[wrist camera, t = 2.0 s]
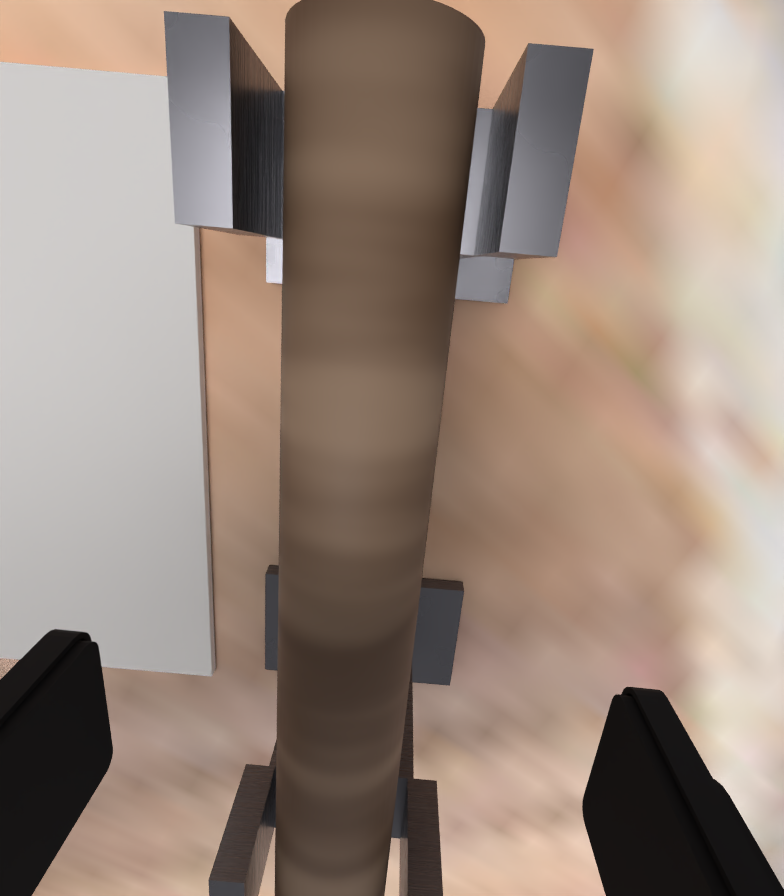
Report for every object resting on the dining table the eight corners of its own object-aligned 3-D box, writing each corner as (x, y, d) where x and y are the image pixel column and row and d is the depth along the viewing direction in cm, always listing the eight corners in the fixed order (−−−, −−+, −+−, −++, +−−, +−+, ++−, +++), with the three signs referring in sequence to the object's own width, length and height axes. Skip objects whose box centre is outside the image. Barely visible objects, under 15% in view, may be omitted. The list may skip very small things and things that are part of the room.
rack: (448, 674, 29) (481, 999, 16) (269, 658, 29) (158, 972, 16) (527, 143, 20) (733, -66, 8) (271, 120, 20) (39, -127, 7)
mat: (215, 668, 29) (211, 676, 29) (2, 649, 29) (-6, 657, 29) (193, 83, 20) (187, 78, 19) (-119, 56, 20) (-135, 50, 19)
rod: (385, 846, 19) (380, 971, 16) (287, 838, 19) (262, 960, 16) (472, 80, 11) (500, 0, 8) (305, 65, 11) (261, -21, 8)
